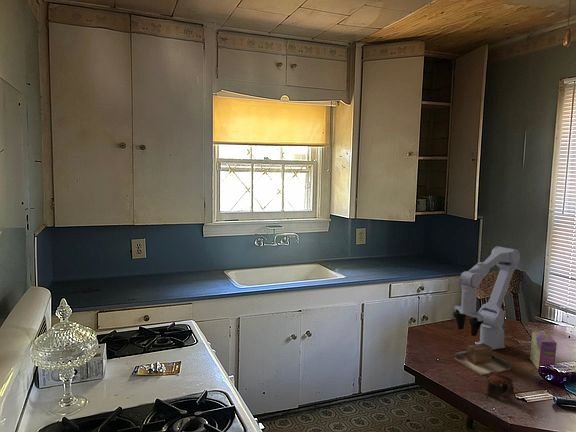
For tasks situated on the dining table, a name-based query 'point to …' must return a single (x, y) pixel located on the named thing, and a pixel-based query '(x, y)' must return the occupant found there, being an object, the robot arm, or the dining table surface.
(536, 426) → the dining table surface
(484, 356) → the walnut block
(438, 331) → the dining table surface
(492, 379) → the pottery mug
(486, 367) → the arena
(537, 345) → the box
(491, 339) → the robot arm
